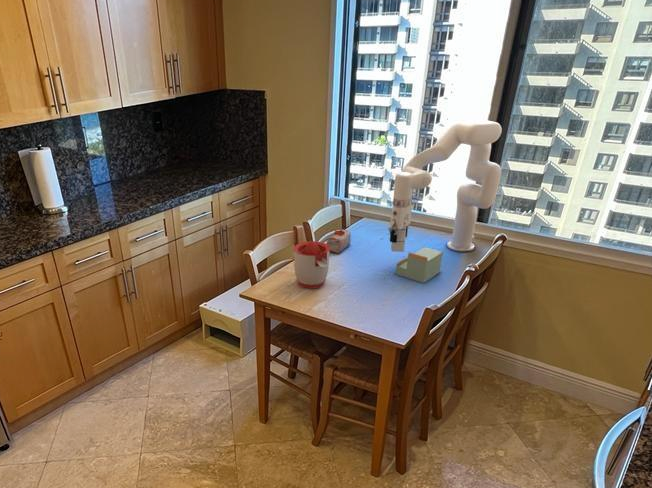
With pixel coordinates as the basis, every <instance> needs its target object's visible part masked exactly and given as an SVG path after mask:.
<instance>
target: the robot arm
mask: <svg viewBox="0 0 652 488" xmlns="http://www.w3.org/2000/svg"><path fill="white" fill-rule="evenodd" d="M501 135H502V126H501V124H500V123H499V122H496V121H492V120H485V119H481V118H470V119H467V120H466V121H460V120H458V121H455V122H452V123H451V125H450V126H449V127H448V128H447V129H446V130H445V132H444V133H443V134H441V136H440V137H439V138H438V139H437V141H436V142H435V143H434V144H433V145H432V146H430V147H428V148H427V149H424V150H422V151H421V152H418V153H417V154H416V155H414V156H413V157H411V159H410V160H409V161H408V162H407V163H406V164H405V165H404V167H403V168H402V170H401V171H399V172H397V173H396V174H395V177H394V185H393V186H394V188H393V190H394V191H393V199H392V210H391V215H390V223H389V224H390V225H389V226H388V231H389V242H390V243H392V242H393V243H396V242H397V231H398V229H399V230H400V229H402V228H403V227H404V221H406V222H407V223H406V236H405V238H407V237H408V232H409V231H408V230H409V228H410V227H409V225H410V224H411V221H412V197H413V196H412V195H413V190H422V189H425V188H428V187H429V186H430V185H431V182H432V180H433V177H432V174H431V173H430V172H429V171H427V170H424V169H423V167H425V166H428V165H431V164H436V163H440V162H444V161H447V160H449V158H450V157H451V156H452V155H453V154H454V152H455V151H457V149H458V147H460V146H461V145H462V144H463V145H468V146H470V151H469V155H468V160H467V164H466V169H465V177H466V178H467V179H468V180H471V181H473V182H465V183H461V185H460V186H459V187H458V189H457V193H456V212H455V215H454V216H455V217H454V221H453V228H452V235H451V240H450V241H448V242H447V245H446V246H447V248H448V249H450V250H452V251H455V252H470V251H473V250H474V249H475V244H474V243H473V239H475V235H474V233H475V228H476V223H477V218H478V209H483V210H486V209H489V208H490V207H491V206H492V205H493V204H494V202H495V199H496V197H497V194H498V190H499V187H500V182H501V179H502V172H503V171H502V168H501V166H500V164H498V163H496V162H493V161H490V157H491V152H492V151H491V150H492V144H493V143H495V142H496V141H498V140H499V138H500V137H501ZM476 182H477V183H476ZM478 183H479V184H478ZM395 224H396V227H394V225H395ZM393 228H394V229H396V230H395V231H394V230H393Z"/></svg>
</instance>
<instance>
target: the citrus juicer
mask: <svg viewBox="0 0 652 488" xmlns="http://www.w3.org/2000/svg"><path fill="white" fill-rule="evenodd" d="M329 250H330V247H329V245H327V243H325V242H322V241H315V240H309V241H302V242H299V243H297V244H295V245H294V246H293V252H294V253H293V255H294V256H293V258H294V259H293V260H294V261H293V262H294V263H293V265H294V273H295V278H296V279H295V280H296V281H297V284H298V285H299V286H300V287H303V288H306V289H317V288H320V287H322V286H324V284H325V283H326V280H327V277H328V274H329V268H330V251H329Z"/></svg>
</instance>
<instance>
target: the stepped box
mask: <svg viewBox="0 0 652 488" xmlns="http://www.w3.org/2000/svg"><path fill="white" fill-rule="evenodd" d="M443 253H444V252H443V251H441V250H437V249H434V248H429V247H425V246H424V247H422V248H419V250H417V251H415V252H411V251H409V252H408V254H407V256H406V257H404V258H403V259H401V260H400V261H398V262H396V268H395V275H398V276H400V277H404V278H407V279H410V280H412V281H416V282H419V283H422V284H424V283H426V282H427V281H429V280H430V279H432V278H433V277H435V276H437V275H438V274H439V273H440V271H441V265H442V259H443Z"/></svg>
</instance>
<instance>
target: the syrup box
mask: <svg viewBox="0 0 652 488" xmlns="http://www.w3.org/2000/svg"><path fill="white" fill-rule="evenodd" d="M406 223H407V222H406V221H404V227H403V228H402V229H400V230H399V229H398V231H397V242H396V243H393V242H390V243H391V244H390V245H391V246H390V247H391V248H390V249H391V250H390V251H391V252H395V253H398V252H399V253H400V252H401V253H402V252H403V253H404V252H405V247H406V237H405V236H406ZM394 227H396V224H395V225H394ZM393 230H394V231H395V230H396V229H394V228H393Z"/></svg>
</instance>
